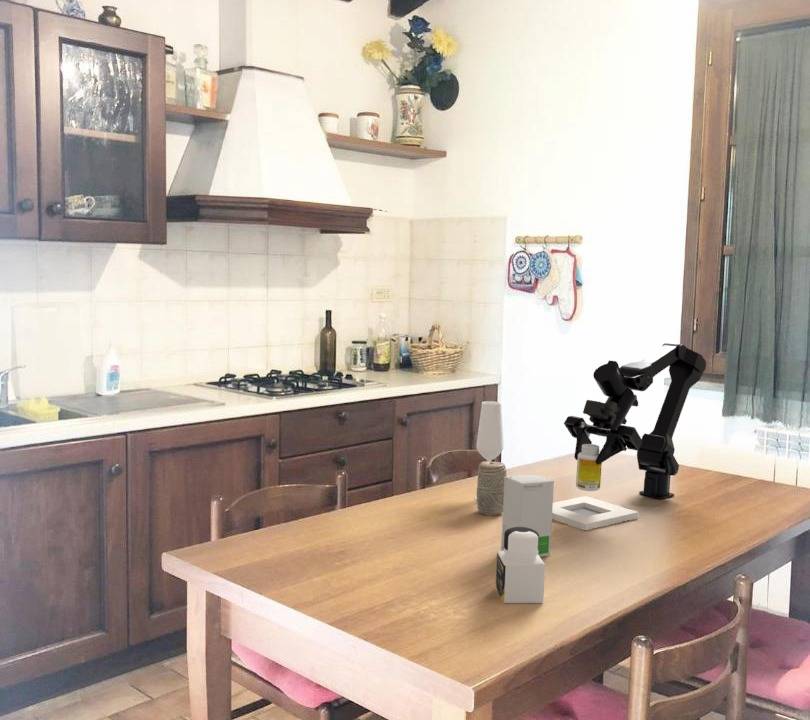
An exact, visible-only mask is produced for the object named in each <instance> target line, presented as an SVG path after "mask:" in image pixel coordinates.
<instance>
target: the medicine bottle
mask: <svg viewBox="0 0 810 720" xmlns="http://www.w3.org/2000/svg"><path fill="white" fill-rule="evenodd" d="M538 551H539V534H538V532H536V531H535V530H533V529H530V528H527V527H513V528H510V529H507V530H506V531H505V533H504V551H501V550H497V552H496V573H495V574H496V575H495V576H496V577H495V589H496V591H497V594H498V596H499V597H500V599H501V601H502V603H503V604H543V603H544V594H545V578H546V576H545V574H546V573H545V571H546V563H544V560H542V557H539V555H538Z"/></svg>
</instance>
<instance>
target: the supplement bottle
mask: <svg viewBox="0 0 810 720" xmlns="http://www.w3.org/2000/svg"><path fill="white" fill-rule="evenodd" d="M581 450H582V451H581V452H580V453H579V454H578V459H577V460H576V462H577V463H576V476H575V478H576V479H575V487H576V488H577V489H578V490H580V491H585V492H596V491H599V490H600V489H601V479H602V477H601V476H602V464H603V462H602V463H601V464H599V465H597V464H596V459H597V457H598V455H599V453H600V446H599V445H597V444H592V443H591V444H583V445H582V449H581Z"/></svg>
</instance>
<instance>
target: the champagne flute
mask: <svg viewBox="0 0 810 720" xmlns="http://www.w3.org/2000/svg"><path fill="white" fill-rule="evenodd" d="M503 430H504V428H503V412H502V402H501V401H493V400H487V401H485V400H484V401H482V402H481V406H480V416H479V423H478V430H477V435H476V436H477V438H476V444H475V446H476V447H475V448H476V450H477V451H478V453H479V454H480V455H481V457H482V458H483V459H484V460H485V461H492V460H495V459H496V458H497V457H499V455H501V453H502V452H503V450H504V431H503ZM492 462H493V461H492ZM474 497H475V498H474V500H476V499H477V495H475V496H474Z"/></svg>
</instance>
